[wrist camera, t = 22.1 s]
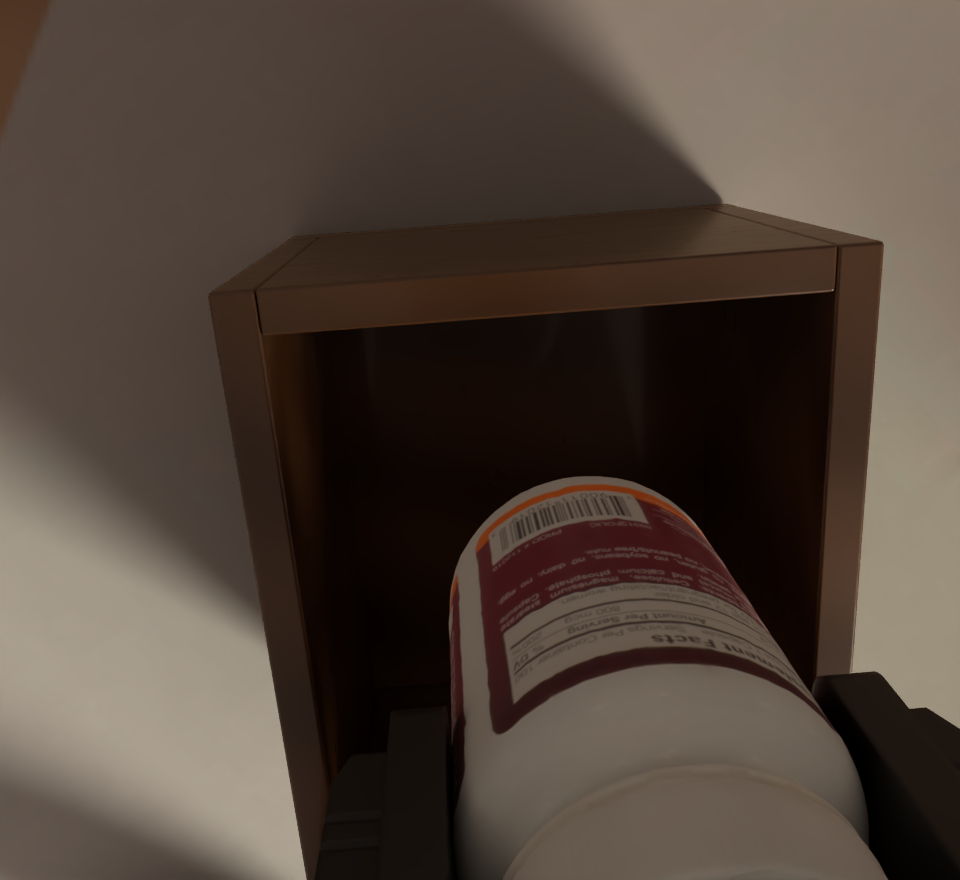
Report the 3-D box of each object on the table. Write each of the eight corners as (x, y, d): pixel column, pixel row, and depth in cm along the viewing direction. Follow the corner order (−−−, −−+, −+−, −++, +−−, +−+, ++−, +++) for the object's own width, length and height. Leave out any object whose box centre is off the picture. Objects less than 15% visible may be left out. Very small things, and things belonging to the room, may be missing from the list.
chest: (291, 236, 26) (206, 293, 17) (728, 203, 26) (886, 240, 17) (354, 698, 31) (315, 939, 22) (718, 667, 31) (836, 894, 22)
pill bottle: (636, 742, 17) (807, 1279, 9) (405, 651, 16) (369, 1155, 8) (768, 533, 16) (1104, 947, 8) (523, 423, 15) (617, 759, 7)
